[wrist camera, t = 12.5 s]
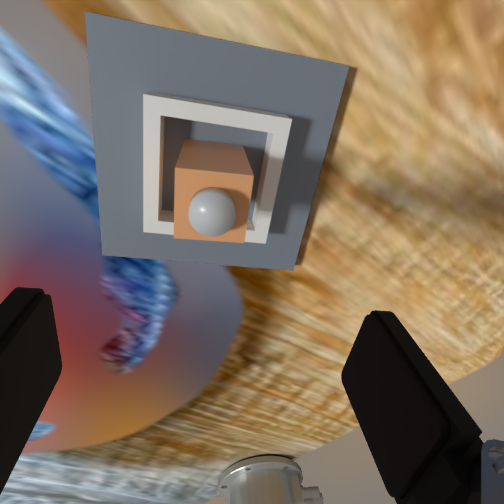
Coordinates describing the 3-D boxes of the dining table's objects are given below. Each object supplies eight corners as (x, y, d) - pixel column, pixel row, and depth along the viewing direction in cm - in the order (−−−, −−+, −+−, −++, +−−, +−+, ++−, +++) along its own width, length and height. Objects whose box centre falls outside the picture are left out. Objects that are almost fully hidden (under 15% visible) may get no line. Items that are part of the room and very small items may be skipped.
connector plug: (242, 145, 23) (256, 181, 16) (236, 198, 25) (246, 251, 18) (184, 138, 22) (172, 173, 15) (183, 194, 24) (171, 247, 17)
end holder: (344, 65, 22) (361, 66, 19) (290, 264, 29) (298, 283, 27) (90, 13, 19) (71, 6, 16) (106, 248, 27) (94, 268, 24)
